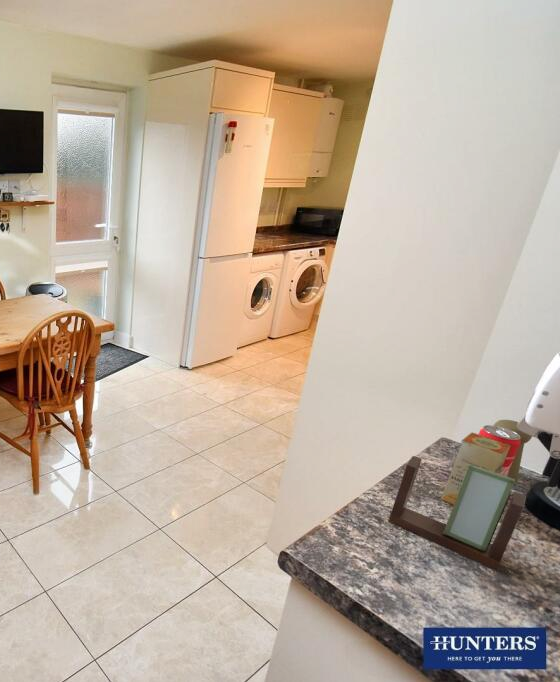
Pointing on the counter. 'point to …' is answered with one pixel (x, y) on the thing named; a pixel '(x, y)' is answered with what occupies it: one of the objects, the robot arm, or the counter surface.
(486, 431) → the beverage can
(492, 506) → the window pane
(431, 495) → the counter surface
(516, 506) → the window frame
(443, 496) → the shoe polish box
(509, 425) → the cork
